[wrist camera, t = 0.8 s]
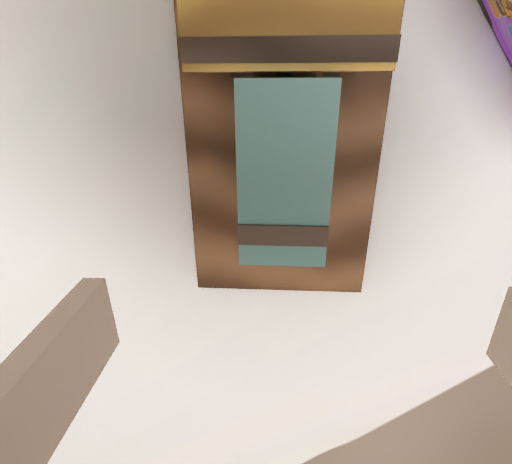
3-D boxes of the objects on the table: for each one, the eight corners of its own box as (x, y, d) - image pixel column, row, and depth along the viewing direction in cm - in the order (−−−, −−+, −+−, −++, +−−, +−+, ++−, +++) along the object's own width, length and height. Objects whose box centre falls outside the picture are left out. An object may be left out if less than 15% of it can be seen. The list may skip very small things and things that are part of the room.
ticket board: (175, -27, 25) (113, -87, 16) (401, -31, 24) (480, -99, 15) (200, 280, 36) (172, 354, 26) (358, 285, 35) (387, 363, 25)
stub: (251, 76, 26) (233, 78, 16) (317, 76, 26) (342, 77, 16) (252, 202, 30) (238, 266, 20) (309, 203, 30) (325, 268, 20)
